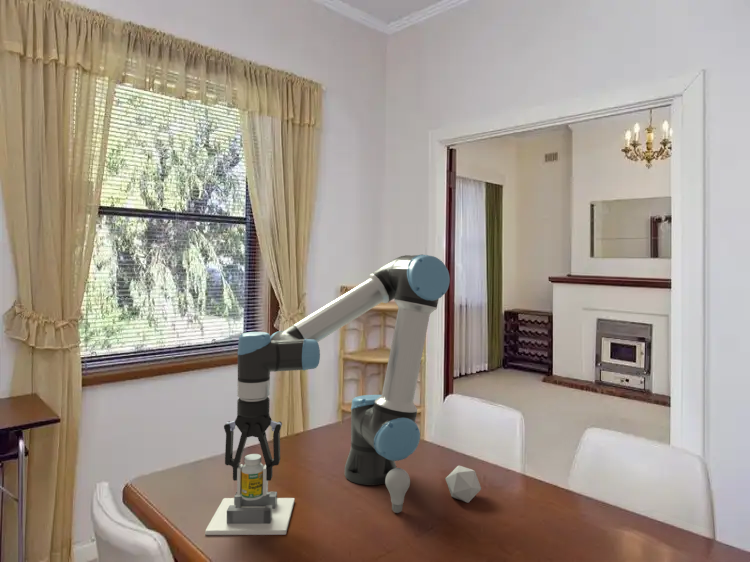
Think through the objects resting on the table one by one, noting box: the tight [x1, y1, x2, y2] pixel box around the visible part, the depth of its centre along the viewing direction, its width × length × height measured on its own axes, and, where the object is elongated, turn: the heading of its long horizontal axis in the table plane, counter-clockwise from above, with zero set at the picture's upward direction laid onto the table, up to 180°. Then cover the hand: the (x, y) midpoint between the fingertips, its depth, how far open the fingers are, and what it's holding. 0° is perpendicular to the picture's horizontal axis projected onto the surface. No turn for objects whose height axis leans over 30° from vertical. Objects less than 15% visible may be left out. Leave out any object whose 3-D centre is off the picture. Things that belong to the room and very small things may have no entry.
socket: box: [204, 491, 295, 536], centre depth 123 cm, size 18×16×4 cm
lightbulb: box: [385, 467, 411, 514], centre depth 127 cm, size 6×6×11 cm
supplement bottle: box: [241, 453, 265, 501], centre depth 123 cm, size 5×5×10 cm
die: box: [445, 465, 482, 503], centre depth 135 cm, size 8×9×10 cm
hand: (252, 493), depth 123 cm, fingers closed on supplement bottle, 5 cm apart
